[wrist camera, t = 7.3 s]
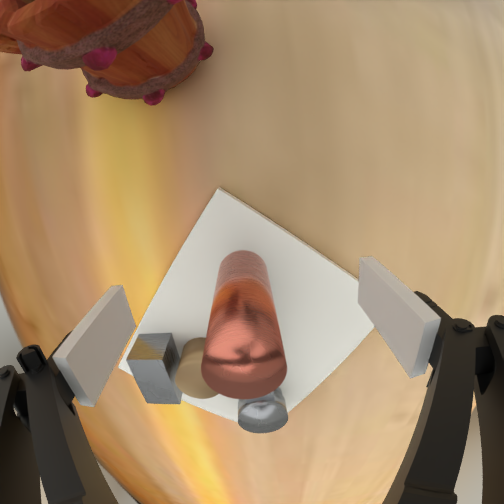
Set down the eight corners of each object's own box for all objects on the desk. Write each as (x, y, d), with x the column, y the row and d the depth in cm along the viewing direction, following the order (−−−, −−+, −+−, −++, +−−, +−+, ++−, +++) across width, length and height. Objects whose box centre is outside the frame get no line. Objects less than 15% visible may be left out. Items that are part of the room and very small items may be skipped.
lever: (285, 413, 24) (300, 504, 14) (241, 417, 24) (242, 509, 14) (273, 238, 19) (307, 330, 9) (207, 246, 19) (172, 342, 9)
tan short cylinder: (194, 330, 22) (187, 358, 18) (232, 350, 22) (231, 379, 19) (175, 357, 23) (167, 386, 19) (211, 375, 23) (208, 404, 20)
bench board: (219, 186, 19) (216, 189, 18) (386, 299, 23) (395, 309, 21) (121, 359, 24) (115, 372, 22) (264, 423, 28) (265, 435, 26)
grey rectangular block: (138, 333, 22) (125, 359, 18) (171, 332, 22) (162, 359, 18) (155, 376, 23) (147, 403, 20) (186, 376, 23) (180, 404, 20)
